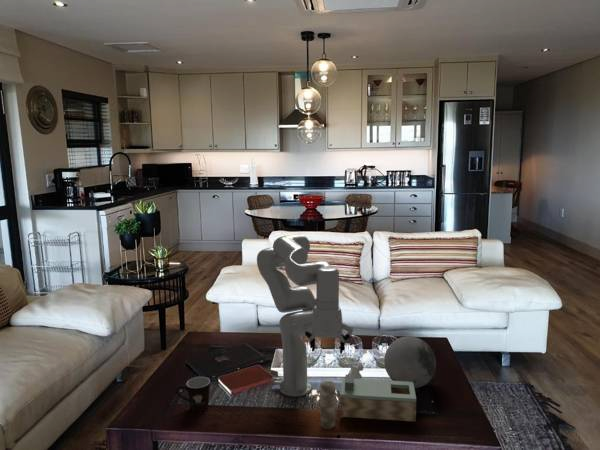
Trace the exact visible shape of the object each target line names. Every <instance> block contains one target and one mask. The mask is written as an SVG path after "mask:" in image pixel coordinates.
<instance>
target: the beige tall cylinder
mask: <svg viewBox="0 0 600 450" xmlns="http://www.w3.org/2000/svg"><path fill="white" fill-rule="evenodd" d="M319 386H320V427H321V426H322V427H321V428H322V429H325V428H326V430H332V429H334V428H335V427H336V383H335V382H333V381H330V380H324V381H322V382H321V383H320V384H319ZM333 427H334V428H333ZM331 428H332V429H331Z"/></svg>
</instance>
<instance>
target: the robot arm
mask: <svg viewBox="0 0 600 450" xmlns="http://www.w3.org/2000/svg"><path fill="white" fill-rule="evenodd" d="M310 249H311V243H310V240H309V239H308V237H307V236H306V235H303V234H291V235H283V236H279V237H277V238H276V239H275V240H274V241H273V244H272V247H267V248H264V249H262V250H260V251H259V252H258V253H257V256H256V265H257V269H258V271H259V274H260V275H261V277H262V278H263V280H264V281H265V283H266V284H267V287H268V290H269V291H270V295H271V297H272V300H273V302H274V305H275V308H276V309H277V311H278V312H280V313H283V314H284V315H282V317H281V318H280V319H279V321H278V322H279V329H280V330H279V331H280V335H281V345H282V375H283V376H281V377H277V376H273V377H272V382H273V383H274V385H275V386H277V385H279V392H280V393H281V394H283V395H285V396H287V397H292V398H293V397H294V398H295V397H302V396H305V395H308V394H309V393H310V392H311V391H312V385H311V383H310V381H308V353H307V352H308V349H307V344H306V343H305V341H303V340H302V337H304V336H306V337H307V338H308V340H309V346H310V347H309V348H310V349H311V352H312V353H313V352H315V350H316V338H326V339H339V340H340V343H339V354H343V351H345V346H346V345H345V343H346V341H347V340H349V338H350V337H351V336H352V334H353V331H354V329H353V328H352V327H351V326H348V325H347V324H345V323H343V314H342V309H341V306H340V301H339V300H340V299H339V298H340V271H339V269H338V268H337V267H335V266H332V265H331V264H330V263H329V262H328V261H325V260H320V261H313V262H312V261H311V262H307V261H308V257H309V255H308V254H309V252H310ZM283 267H284V270H285V273H286V275H285V273H283V272H282V271H281V270H279V269H277V268H283ZM289 280H290V281H291V282H292V283H294V284H295V285H296V286H291V284H290V281H289ZM310 285H316V290H315V291H316V292H315V293H316V295H315V296H314V294H313V292H312V290H311V289H310V288H309V287H308V286H310ZM315 297H316V298H315ZM285 313H286V314H285ZM343 330H344V331H347V333H346V334H344V333H343Z"/></svg>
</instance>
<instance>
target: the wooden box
mask: <svg viewBox="0 0 600 450" xmlns="http://www.w3.org/2000/svg"><path fill="white" fill-rule="evenodd" d="M391 393H394V394H410V393H409V388H394V387H391ZM339 403H340V404H339V405H340V407H339V408H340V409H339V411H340V412H339V417H340V418H343V419H344V418H354V419H355V418H357V419H371V420H373V419H374V420H385V421H386V420H387V421H388V420H390V421H400V422H401V421H404V422H416V420H417V419H416V418H417V401H416V402H407V401H390V400H373V399H356V398H340V397H339Z"/></svg>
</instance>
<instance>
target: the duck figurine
mask: <svg viewBox="0 0 600 450" xmlns="http://www.w3.org/2000/svg"><path fill="white" fill-rule="evenodd" d="M363 370H364V365H363V363H362V362H358V361H357V360H356V361H354V362H353V363H351V366H350V370H349V372H348V373H347V375H354V379H363V376H362V374H361V373H360V372H362V371H363Z"/></svg>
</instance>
